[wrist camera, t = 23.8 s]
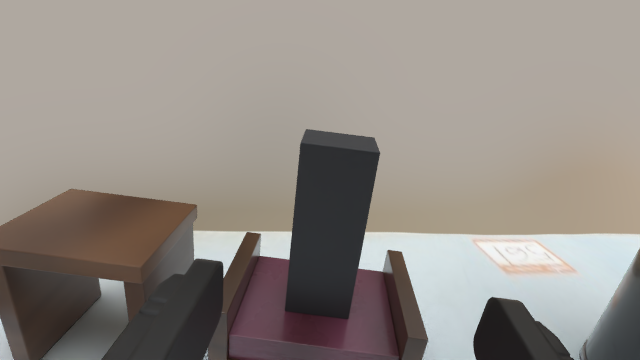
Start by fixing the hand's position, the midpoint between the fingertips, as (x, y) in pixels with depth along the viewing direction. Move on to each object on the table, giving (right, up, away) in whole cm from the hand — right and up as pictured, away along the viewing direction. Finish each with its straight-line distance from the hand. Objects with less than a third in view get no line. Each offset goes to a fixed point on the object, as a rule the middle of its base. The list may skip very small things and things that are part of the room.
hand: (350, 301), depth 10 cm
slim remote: (-1, -5, +14) cm, 15 cm away
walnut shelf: (-17, -8, +16) cm, 25 cm away
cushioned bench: (-2, -10, +16) cm, 19 cm away
